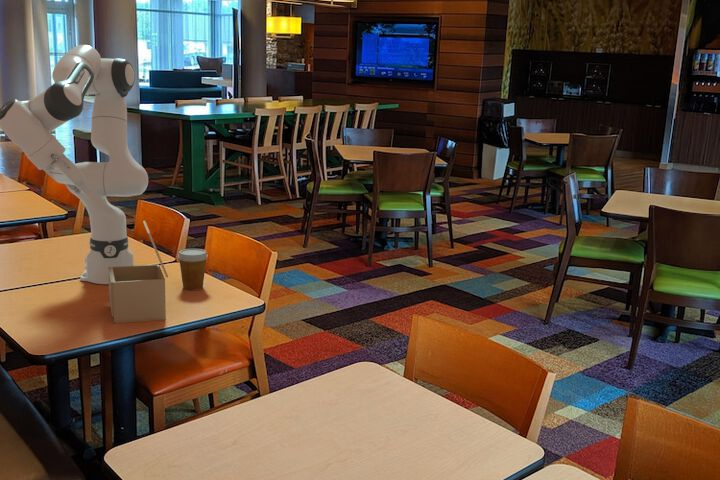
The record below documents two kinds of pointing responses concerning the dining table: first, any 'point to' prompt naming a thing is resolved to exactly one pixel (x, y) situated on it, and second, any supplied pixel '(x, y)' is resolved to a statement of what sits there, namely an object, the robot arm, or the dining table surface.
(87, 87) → the robot arm
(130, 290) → the carton
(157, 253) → the lid flap
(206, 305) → the dining table surface
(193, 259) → the disposable coffee cup
